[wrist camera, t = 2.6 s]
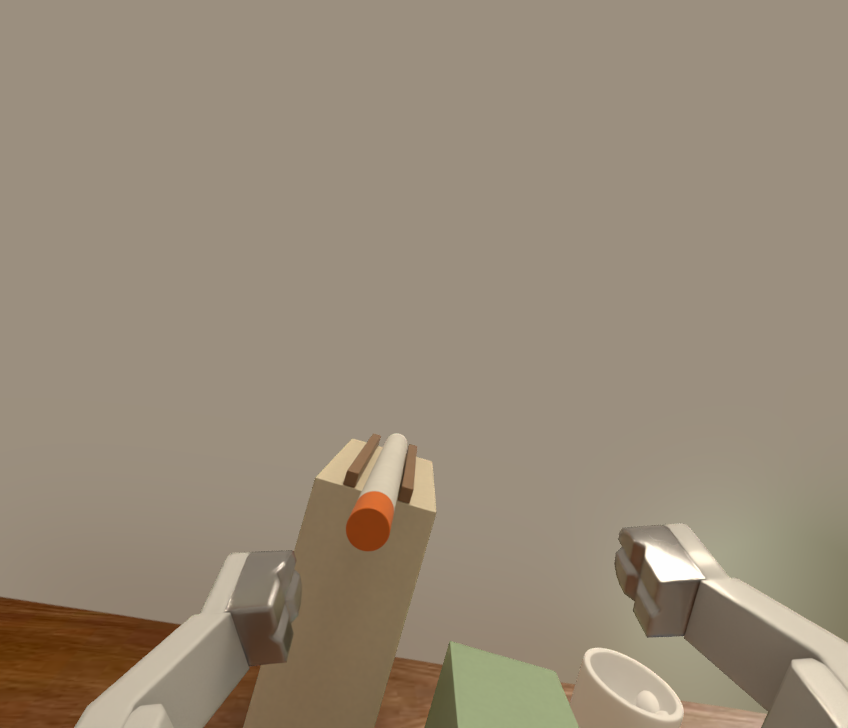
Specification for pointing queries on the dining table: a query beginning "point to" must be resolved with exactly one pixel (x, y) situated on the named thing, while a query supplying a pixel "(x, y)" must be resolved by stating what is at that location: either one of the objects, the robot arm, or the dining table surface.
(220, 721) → the dining table surface
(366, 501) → the marker
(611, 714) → the mug
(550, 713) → the low block
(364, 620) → the tall stand
